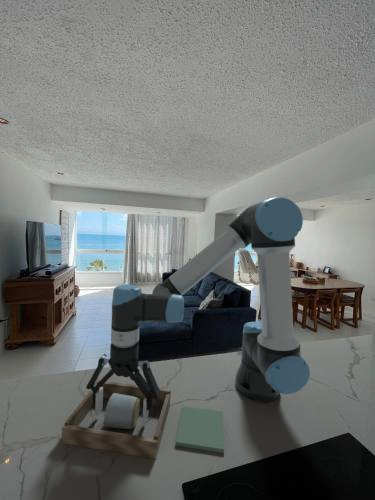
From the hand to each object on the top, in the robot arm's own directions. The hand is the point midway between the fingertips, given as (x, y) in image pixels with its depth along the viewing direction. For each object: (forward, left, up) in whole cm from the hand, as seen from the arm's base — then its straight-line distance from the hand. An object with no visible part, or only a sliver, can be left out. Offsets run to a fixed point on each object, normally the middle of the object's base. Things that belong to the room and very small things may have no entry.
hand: (121, 416), depth 61 cm
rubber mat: (-22, -2, -2) cm, 22 cm away
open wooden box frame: (0, 0, -2) cm, 2 cm away
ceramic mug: (0, -1, -2) cm, 2 cm away
